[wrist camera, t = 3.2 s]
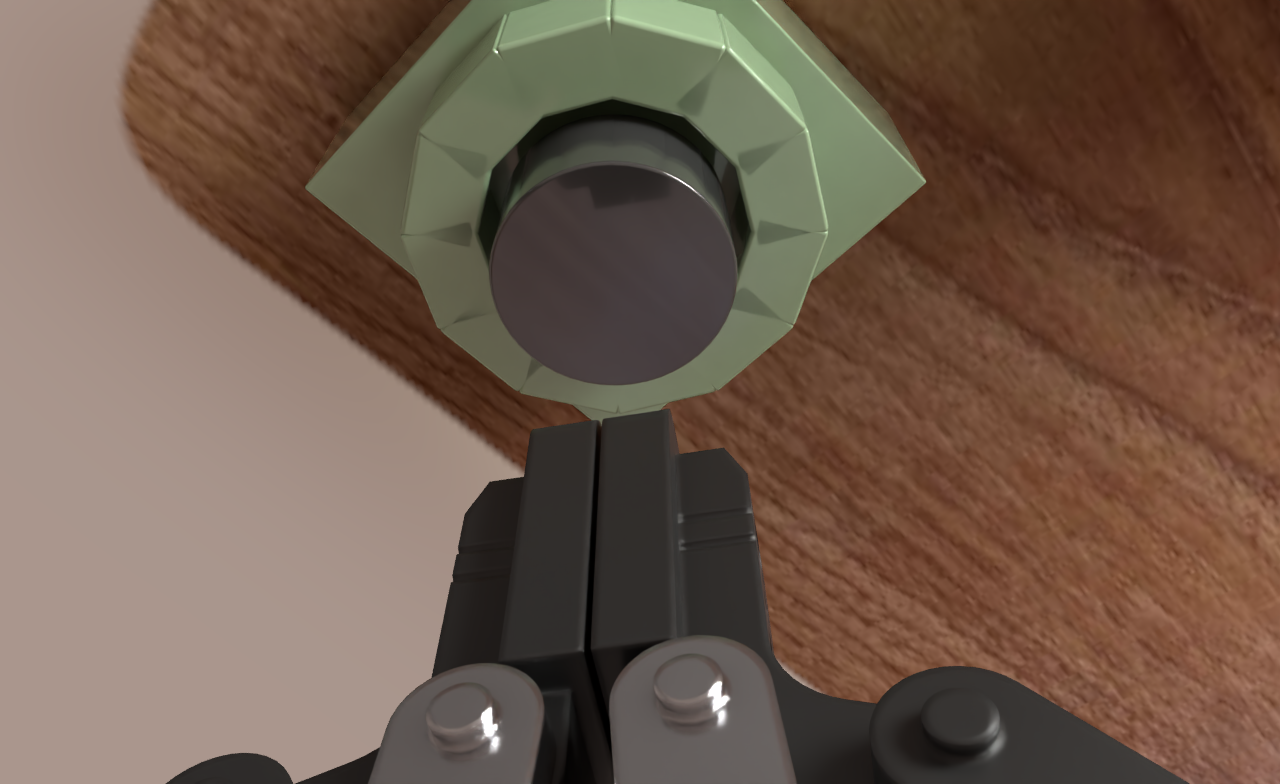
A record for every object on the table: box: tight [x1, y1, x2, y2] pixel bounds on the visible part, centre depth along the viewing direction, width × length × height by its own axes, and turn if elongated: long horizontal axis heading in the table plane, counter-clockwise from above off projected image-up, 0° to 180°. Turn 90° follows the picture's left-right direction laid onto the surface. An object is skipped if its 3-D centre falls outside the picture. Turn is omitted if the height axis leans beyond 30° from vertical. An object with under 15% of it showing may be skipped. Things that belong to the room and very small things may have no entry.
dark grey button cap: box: [489, 114, 738, 386], centre depth 18 cm, size 4×4×2 cm
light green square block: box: [305, 0, 926, 425], centre depth 21 cm, size 8×8×6 cm
